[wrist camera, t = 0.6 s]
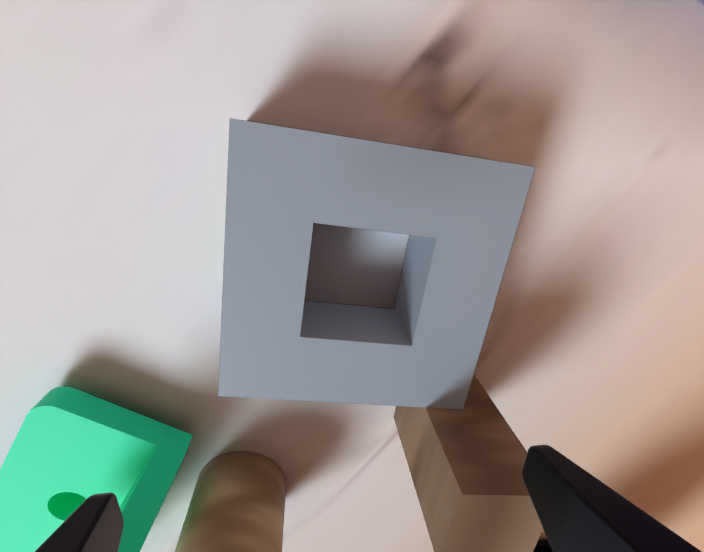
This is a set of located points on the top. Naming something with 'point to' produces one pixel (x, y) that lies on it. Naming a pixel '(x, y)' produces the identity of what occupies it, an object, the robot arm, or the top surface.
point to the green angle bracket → (85, 468)
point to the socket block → (348, 320)
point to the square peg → (469, 476)
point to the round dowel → (236, 506)
